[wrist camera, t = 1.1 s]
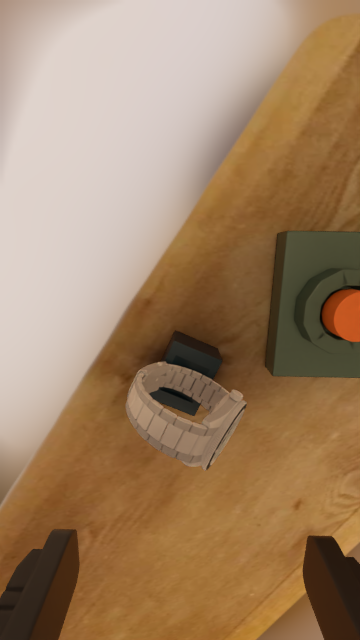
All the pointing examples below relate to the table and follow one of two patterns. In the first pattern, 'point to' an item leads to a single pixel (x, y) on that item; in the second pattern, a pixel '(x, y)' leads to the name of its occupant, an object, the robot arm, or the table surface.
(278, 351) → the push button base
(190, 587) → the table surface
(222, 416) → the watch
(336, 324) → the button
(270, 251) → the table surface
